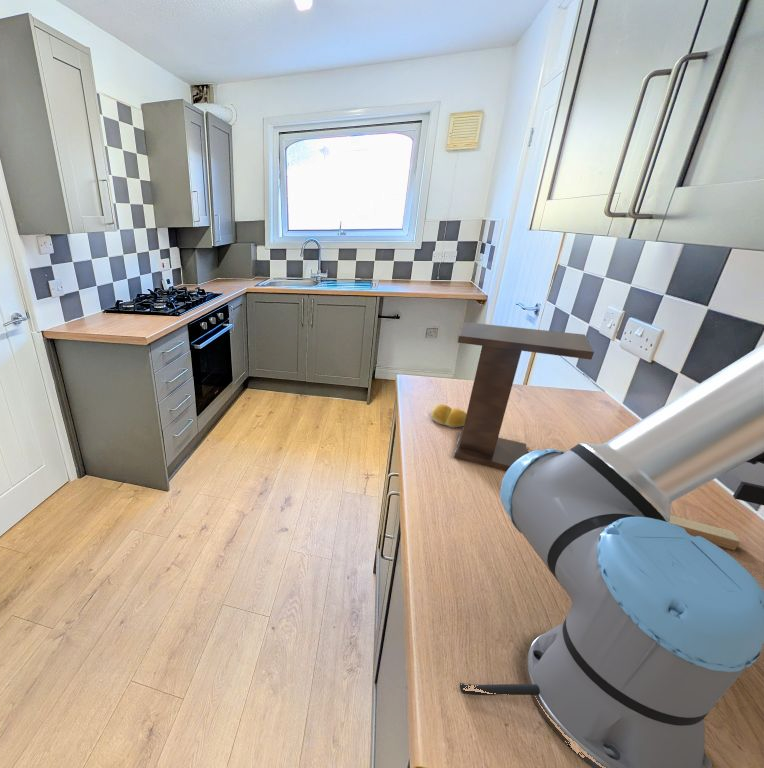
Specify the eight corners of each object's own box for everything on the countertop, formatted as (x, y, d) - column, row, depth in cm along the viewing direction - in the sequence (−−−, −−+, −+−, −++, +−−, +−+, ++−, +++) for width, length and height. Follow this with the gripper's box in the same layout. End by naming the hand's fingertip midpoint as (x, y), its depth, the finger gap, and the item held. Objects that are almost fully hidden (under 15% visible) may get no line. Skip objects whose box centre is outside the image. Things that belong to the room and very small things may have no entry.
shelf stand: (544, 453, 91) (584, 334, 79) (548, 482, 82) (594, 351, 70) (442, 430, 102) (464, 322, 90) (435, 452, 92) (458, 335, 81)
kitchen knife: (727, 539, 67) (733, 531, 66) (735, 551, 65) (740, 542, 64) (521, 484, 81) (523, 476, 80) (521, 491, 79) (523, 484, 78)
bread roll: (462, 431, 101) (465, 418, 99) (427, 421, 106) (429, 408, 104) (470, 419, 106) (473, 406, 105) (436, 410, 112) (438, 397, 110)
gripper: (1014, 604, 44) (743, 534, 55) (862, 482, 64) (683, 447, 74) (1069, 556, 41) (771, 492, 52) (892, 444, 61) (700, 413, 71)
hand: (718, 465), depth 63 cm, fingers open, 13 cm apart
